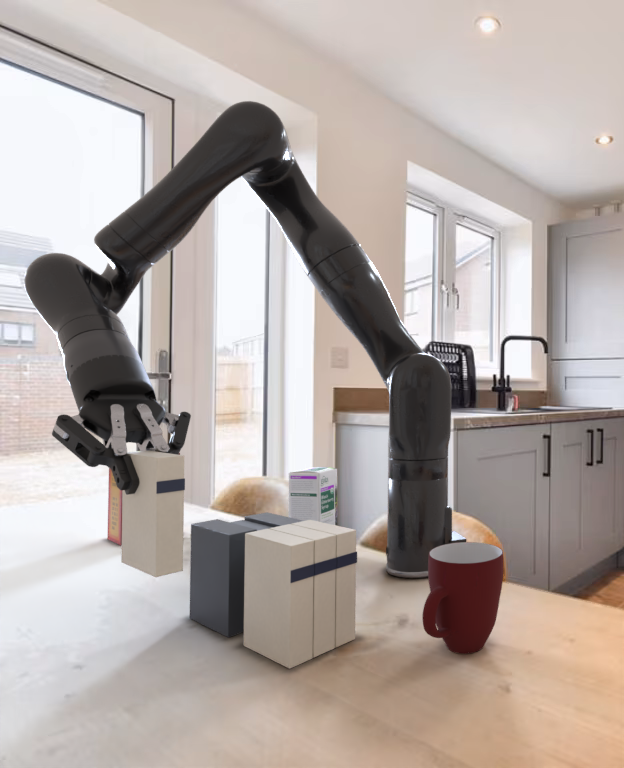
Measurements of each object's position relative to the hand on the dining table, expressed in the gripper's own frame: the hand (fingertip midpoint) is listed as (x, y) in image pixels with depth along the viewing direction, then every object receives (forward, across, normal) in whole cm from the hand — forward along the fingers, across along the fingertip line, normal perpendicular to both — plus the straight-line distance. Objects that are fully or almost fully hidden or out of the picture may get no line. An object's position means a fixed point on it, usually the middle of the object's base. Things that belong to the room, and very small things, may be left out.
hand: (150, 486), depth 58 cm
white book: (+6, 0, +6) cm, 8 cm away
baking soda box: (-24, +19, +48) cm, 57 cm away
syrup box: (+2, +30, +22) cm, 37 cm away
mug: (+32, +18, -8) cm, 38 cm away
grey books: (+12, +11, +12) cm, 20 cm away
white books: (+21, +10, +3) cm, 23 cm away
